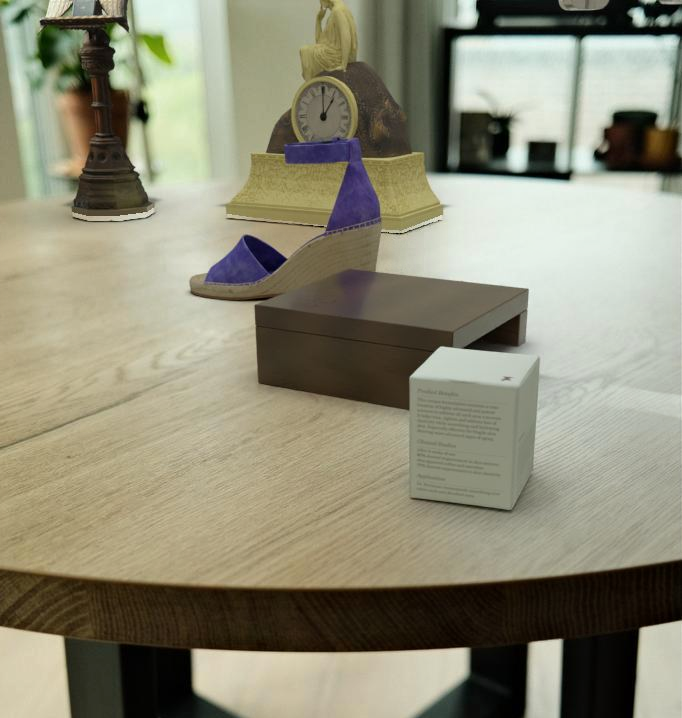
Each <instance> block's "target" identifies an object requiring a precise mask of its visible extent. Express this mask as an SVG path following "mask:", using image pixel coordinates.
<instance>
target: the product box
mask: <svg viewBox="0 0 682 718" xmlns="http://www.w3.org/2000/svg"><path fill="white" fill-rule="evenodd" d="M540 367H541V357H540V355H535V354H526V353H525V354H522V353H511V352H500V351H489V350H479V349H467V348H462V349H458V348H450V347H439V348H438V349H437V350H436V351H435V352H434V353H433V354H432V355H431V356H430V357H429V358H428V359H427V360H426V361H425V362H424V363H423V364H422V365H421V366H420V367H419V368H418V369H417V370H416V371H415V372H414V373H413V374H412V375H411V376H410V378H409V385H410V409H409V418H408V419H409V421H408V423H409V425H408V426H409V427H408V464H409V467H408V468H409V469H408V470H409V471H408V472H409V473H408V474H409V475H408V476H409V477H408V478H409V479H408V480H409V481H408V483H409V497H410V498H411V499H420V500H421V499H422V500H430V501H437V502H438V501H439V502H445V503H446V502H447V503H454V504H462V505H468V506H469V505H471V506H478V507H486V508H493V509H501V510H507V511H511V510H512V509H513V508H514V506H515V504H516V502H517V501H518V499H519V497H520V495H521V494H522V492H523V490H524V488H525V486H526V484H527V482H528V480H529V479H530V478H531V477H530V476H531V475H532V473H533V471H534V459H535V444H536V443H535V441H536V431H537V430H536V429H537V415H538V399H539V382H540V379H539V378H540V369H541V368H540Z"/></svg>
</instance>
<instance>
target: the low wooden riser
mask: <svg viewBox="0 0 682 718" xmlns="http://www.w3.org/2000/svg"><path fill="white" fill-rule="evenodd" d="M529 294H530V289H529V288H526V287H517V286H507V285H498V284H491V283H490V284H489V283H480V282H472V281H462V280H454V279H453V280H452V279H445V278H434V277H427V276H417V275H407V274H398V273H390V272H380V271H375V272H372V271H363V270H354V269H348V270H345V271H343V272H340V273H337V274H335V275H332V276H329V277H327V278H324V279H321V280H319V281H316V282H313V283H311V284H308V285H306V286H303V287H300V288H298V289H295V290H292V291H290V292H287V293H284V294H282V295H279V296H274V297H270V298H268V299H266V300H263V301H260V302H258V303H255V304H253V305H254V307H253V309H254V324H255V346H256V348H255V349H256V367H257V382H258V383H259V384H265V385H270V386H276V387H281V388H286V389H293V390H297V391H298V390H299V391H304V392H308V393H309V392H310V393H313V394H314V393H315V394H320V395H326V396H333V397H337V398H343V399H349V400H354V401H359V402H365V403H366V402H367V403H372V404H377V405H383V406H388V407H394V408H400V409H404V410H410V385H409V378H410V376H411V375H412V374H413V373H414V372H415V371H416V370H417V369H418V368H419V367H420V366H421V365H422V364H423V363H424V362H425V361H426V360H427V359H428V358H429V357H430V356H431V355H432V354H433V353H434V352H435V351H436V350H437V349H438V348H439V347H450V348H458V349H464V348H465V347H467V346H469V345H470V344H472V343H473V342H480V343H486V344H487V343H488V344H495V345H500V346H501V345H503V346H508V347H509V346H510V347H515V348H516V347H520V346H522V345H523V344H525V343H526V339H527V327H528V326H527V325H528V311H529V310H528V309H529Z"/></svg>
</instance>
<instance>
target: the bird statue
mask: <svg viewBox="0 0 682 718" xmlns="http://www.w3.org/2000/svg"><path fill="white" fill-rule="evenodd" d="M128 3H129V0H49V1H48V6H47V10H46V13H45V14H46V15H45V16H42V17H40V18H39V24H40V28H39V30H38V31H37V34H36V35H37V36H40V33H41V32H43V30H45V29H46V28H47V27H48V26H59V27H58V29H59V31H60V32H61V31H63V30H66V31H67V30H69V31H73V30H74V31H80V30H81V31H84V33H83V37H82V47H80V48H78V49H77V53H78V54H79V55H80V58H81V66H82V67H81V68H82V69H83V70H85V71H87V72H88V73H89V75H88V76H89V78H90V82H91V92H92V100H93V102H92V104H91V107H92V108H93V110H94V122H95V128H96V130H95V131H96V132H95V133H94V135H95V136H94V137H93V136H92V138H90V141H89V142H88V143H89V147H90V148H89V151H88V154H87V157H86V160H85V164H84V167H82V168H81V173H80V174H79V176H78V179H79V181H78V184H77V191H76V195H75V198H74V199H73V201H72V202H73V205H72V206H71V207H70V208H71V213H72V212H74V213H78V214H82V215H86V216H120V215H128V214H136V213H143V212H148V211H149V210H151V209H152V208H154V207H155V208H156V204H155V202H154V201H150V200H149V195H148V193H147V192H146V191H145V186H143V182H142V179H140V175H141V173H140V172H138V171H136V170H135V169H136V166H135V165H133V163H132V162H131V160H130V157H129V156H128V154H127V152H126V150H125V148H124V146H123V140H122V139H121V138H120V137H119V136H116V133H115V132H114V131H113V128H112V126H113V124H112V117H113V114H112V109H113V108H114V106H115V105H114V104H113V103H112V102H111V94H112V93H111V91H110V88H109V78H110V73H109V72H111V71H114V69H115V67H116V64H115V60H114V55H115V54H116V49H115V48H114V47H112V46H110V43H111V38H110V36H109V34H107V32H106V31H107V30H108V28H107V27H108V24H109V25H110V24H112V25H115V23H116V24H118V26H120V27H121V28H122V29H124V30H125V31H126V32H127V34H129V33H130V26H129V24H128V13H127V12H128ZM71 8H72V9H71ZM70 9H71V12H70V14H69V15H68V16H64V15H65V14H66V13H67V12H69V11H70ZM103 12H104V13H105V14H106V15H105V14H104V13H103Z"/></svg>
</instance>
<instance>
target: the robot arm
mask: <svg viewBox="0 0 682 718" xmlns="http://www.w3.org/2000/svg"><path fill="white" fill-rule="evenodd" d="M609 2H610V0H558V4H559V6H560V8H561V9H562V10H564V11H594V10H595V11H596V10H601V9H602V10H603V9H604V8H605V7H606V6H607V5H608V4H609ZM658 2H659V3H660V4H662V5H682V0H658Z"/></svg>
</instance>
